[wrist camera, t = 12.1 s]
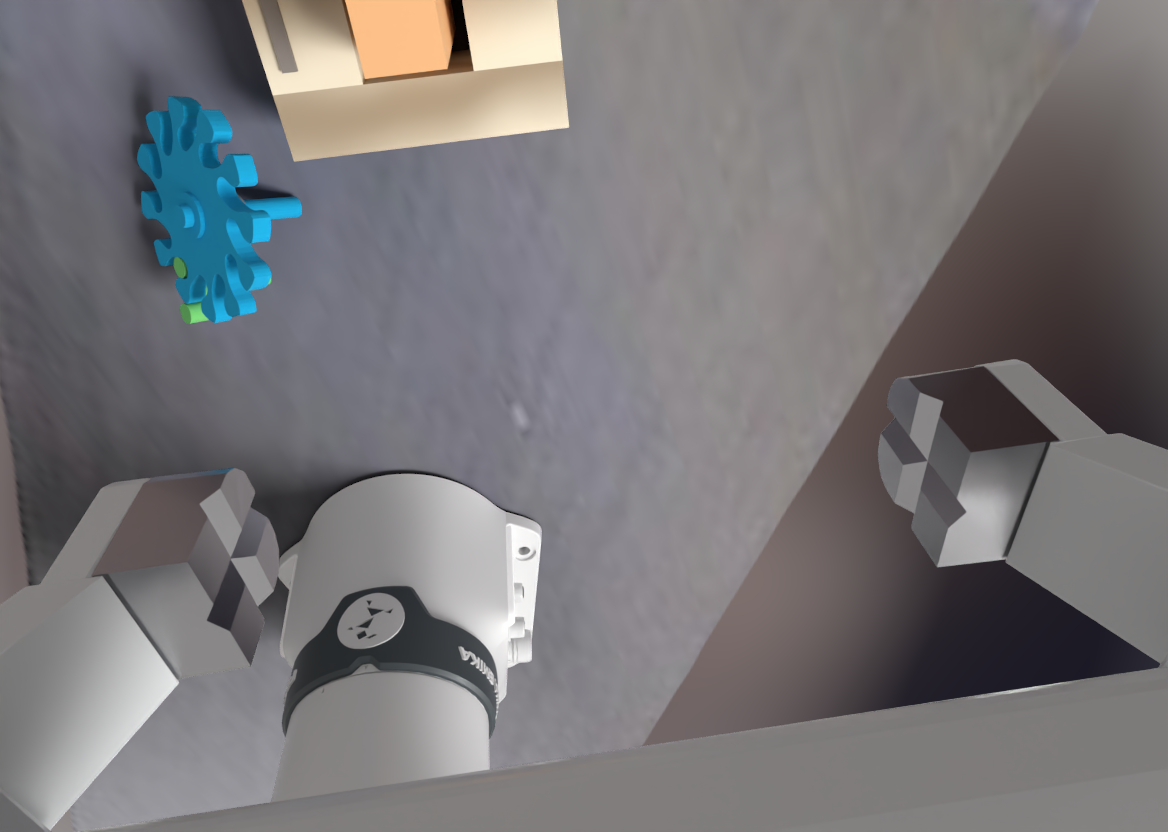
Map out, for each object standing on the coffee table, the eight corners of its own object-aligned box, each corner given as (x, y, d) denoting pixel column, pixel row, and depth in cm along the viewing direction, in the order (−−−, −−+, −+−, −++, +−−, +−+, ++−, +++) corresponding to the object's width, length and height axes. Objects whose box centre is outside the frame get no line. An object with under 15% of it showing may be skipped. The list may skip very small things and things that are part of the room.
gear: (130, 48, 32) (258, 189, 29) (259, 59, 36) (380, 181, 33) (117, 254, 38) (220, 384, 35) (226, 242, 43) (325, 356, 40)
